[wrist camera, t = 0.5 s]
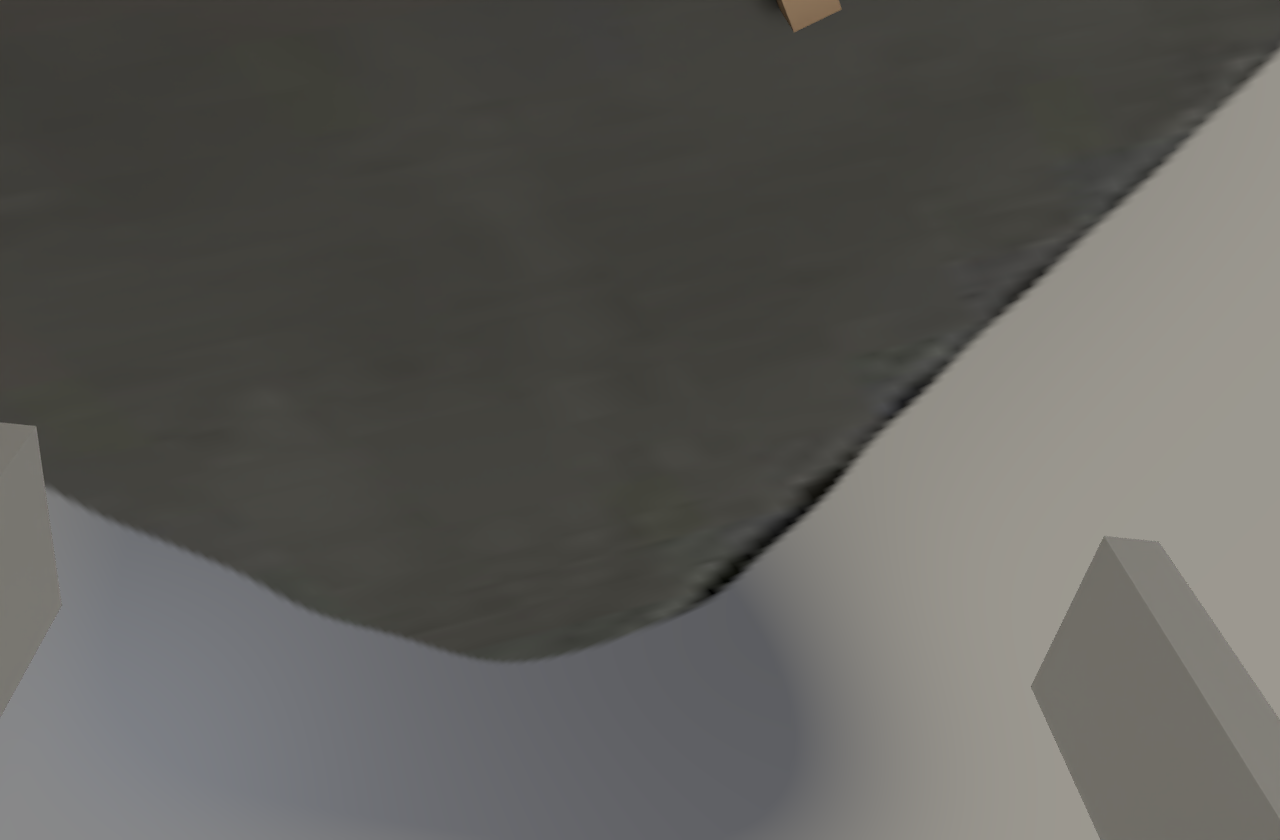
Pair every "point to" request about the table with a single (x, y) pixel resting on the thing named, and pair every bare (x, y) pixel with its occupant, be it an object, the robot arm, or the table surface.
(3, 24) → the table surface
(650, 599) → the table surface
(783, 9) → the channel
